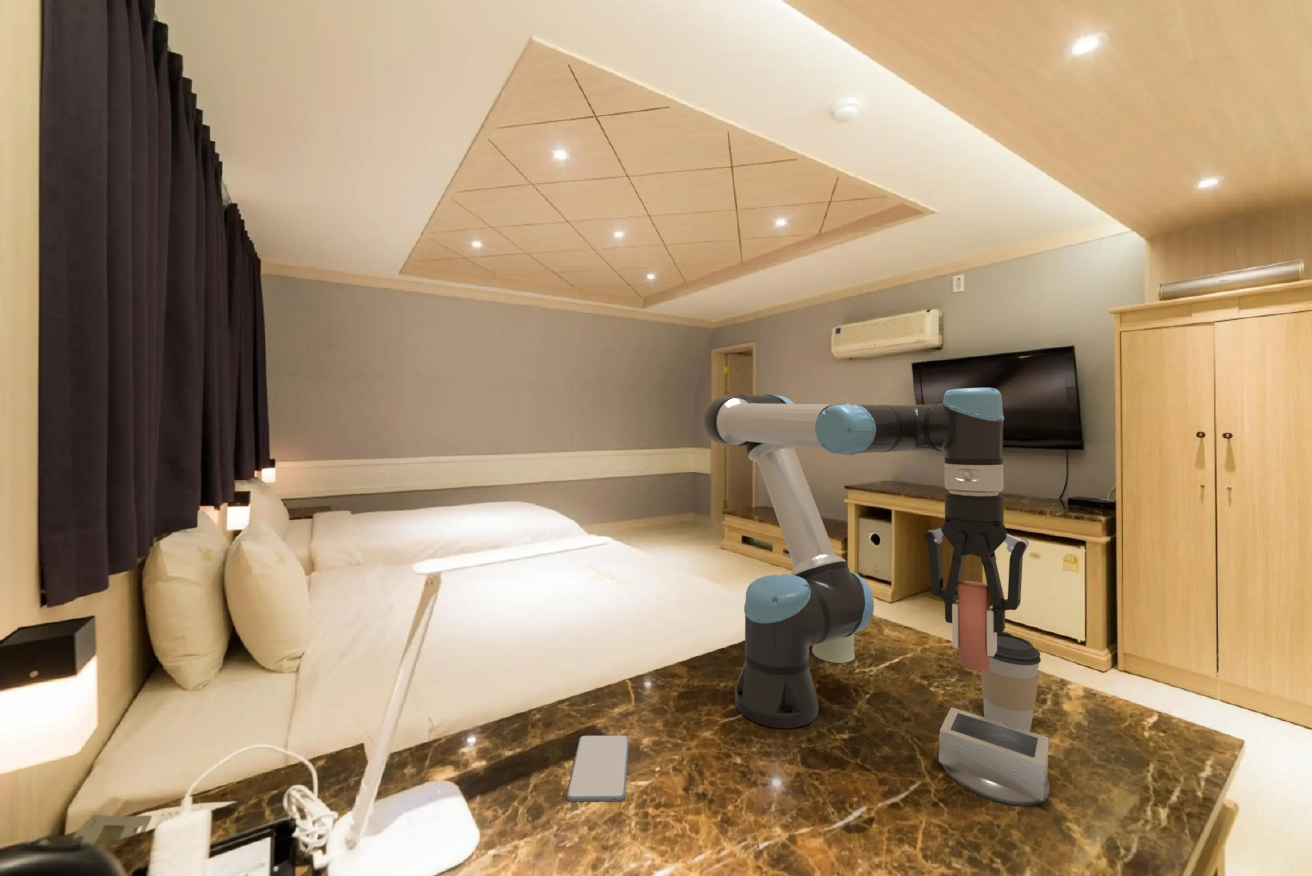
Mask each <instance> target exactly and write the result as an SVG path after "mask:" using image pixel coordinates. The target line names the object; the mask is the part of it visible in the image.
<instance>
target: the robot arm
mask: <svg viewBox="0 0 1312 876" xmlns="http://www.w3.org/2000/svg"><path fill="white" fill-rule="evenodd" d="M1002 399H1003V397H1002V393H1001V392H1000V391H999V390H998V389H997V388H993V387H967V388H966V387H965V388H954V389H948V390H946V391H945V393H944V395H943V400H942V403H935V404H934V403H933V404H854V403H839V404H831V403H829V404H828V403H823V404H822V403H794V402H793V401H792V400H791V399H789V398H788V397H785V396H782V395H776V394H773V393H768V394H736V393H735V394H734V393H728V394H723V395H720V396H718V397H716V398H715V399H713V400H712V401H711V402H709V404H708V405H706V407H705V409H704V412H703V416H702V427H703V429H704V432H705V433H706V435H707V437H708V438H709V439H710V440H711V441H713V442H714V443H716V444H719V445H721V446H726V447H745V448H744V449H745V450H746V453H747V454H746V455H747V457H748V459H749V460H750V461H752V462H754V463H757V464H758V467H759V469H760V473H761V475H762V480H763V481H764V485H765V487H766V490H767V493H768V496H769V498H770V502H771V504H772V507H773V510H774V512H775V515H776V519H777V522H778V524H779V527H780V530H781V533H782V537H783V539H784V542H785V544H786V547H787V550H788V551H787V552H788V553H789V556H790V558H791V561H792V564H793V568H792V571H791V573H790V574H789V573H788V574H787V573H785V574H783V573H782V574H780V575H778V574H770V575H765V576H762V577H759V578H757V579H755V580H753V581H752V582H751V583H749V585H748V586H747V588H746V592H745V602H744V606H743V611H744V662H743V667H742V668H741V672H740V675H739V676H738V681H737V683H736V686H735V691H734V692H735V693H734V695H735V696H734V698H735V699H734V702H735V707H736V708H737V710H738V712H739V713H740V714H741V715H743V716H744V717H745V718H747V719H748V720H750V721H752V722H754V723H756V724H759V725H762V726H766V727H770V728H775V729H776V728H777V729H794V728H799V727H804V726H807V725H809V724H811V723H813V722H814V721H815V720H816V719H817V716H818V715H819V696H818V693H817V690H816V687H815V684H814V681H813V678H812V674H811V671H810V662H809V661H810V660H809V659H810V647H811V646H813V645H815V644H819V643H823V642H827V641H830V640H834V639H838V638H844V637H848V636H851V635H853V634H854V635H855V634H857V633H860V632H862V631H863V630H865V629H866V628H867V626H869V624H870V623H871V622H872V621H871V620H872V616H873V615H874V611H875V610H874V607H875V601H874V596H873V592H872V589H871V587H870V585H869V584H868V582H867V580H865V578H863V577H861V575H859V574H858V573H856V572H853V571H850V568H849V566H848V563H847V561H846V559H844V558H842V557H841V556H839V555H837V554H836V553H835V551H834V549H833V548H834V547H833V546H832V543H831V541H830V537H829V535H828V532H827V529H826V527H825V525H824V521H823V519H822V517H821V514H820V511H819V509H818V507H817V504H816V501H815V499H814V496H813V494H812V492H811V489H810V486H809V483H808V481H807V478H806V476H805V473H804V470H803V468H802V464H801V463H800V459H799V457H798V455H797V452H796V449H797V447H799V448H809V449H816V450H817V449H818V450H824V451H825V450H826V451H827V452H828V453H830V454H835V455H836V454H837V455H843V456H844V455H845V456H846V455H847V456H849V455H850V456H852V455H853V456H854V455H857V454H868V453H870V454H871V453H889V452H891V453H893V452H895V453H896V452H913V451H915V452H943V454H944V455H943V456H944V457H943V458H944V488H945V489H946V490H948V492H946V493H945V494H944V522H943V523H942V525H941V527H939V528H936V529H929V530H928V531H925V532H924V533H923V538H924V539H925V542H926V545H927V547H928V548H927V549H928V559H929V560H928V561H929V562H928V563H929V578H930V579H929V580H930V593H931V594H932V596H935V597H938V598H941V600H943V602H944V619H945V622H946V623H948V624H952V627H951V629H952V648H955V649H959V604H958V599H957V598H958V582H960V581H962V579H961V578H962V575H963V570H964V565H965V561H966V558H967V556H969V555H970V556H971V555H973V556H976V557H978V558H980V561H981V564H982V567H983V571H984V575H985V579H986V584H987V585H988V589H989V599H990V601H991V605H990V608H989V609H988V610H987V655H988V656H992V657H993V656H994V655H995V653H996V652H997V633H1000V634H1002V633H1003V632H1005V629H1006V612H1007V611H1015V610H1017V609H1018V608H1019V606H1020V605H1021V599H1022V597H1021V596H1022V595H1021V594H1022V579H1023V578H1022V577H1023V560H1024V559H1023V558H1024V555H1025V553H1026V550H1027V548H1028V546H1029V541H1028V540H1027V539H1024V538H1022V539H1021V538H1017V537H1016V536H1013V535H1011V534H1009V532H1008V530H1007V528H1006V527H1005V521H1004V520H1005V519H1004V517H1005V515H1004V509H1005V508H1004V506H1005V505H1004V504H1005V503H1004V497H1003V496H1002V494H999V493H1000V492H1002V491H1003V490H1004V487H1005V485H1004V462H1003V451H1004V450H1003V446H1004V445H1003V444H1004V443H1003V442H1004V441H1003V439H1004V438H1003V437H1004V421H1005V416H1004V411H1003V410H1004V409H1003V400H1002ZM944 537H945V539H947V541H948V542H949V544H951V546H952V548H953V551H952V554H951V563H950V568H949V573H948V577H947V581H946V585H945V583H944V582H945V581H944V566H943V552H942V551H943V550H942V542H943V541H944ZM1003 543H1006V544H1007V547H1006V549H1007V551H1008V552H1010V556H1009V562H1008V563H1009V564H1008V566H1009V567H1008V584H1007V598H1005V595H1004V591H1003V587H1002V583H1001V577H1000V574H999V573H1000V572H999V569H998V565H997V556H996V552H995V551H997V550H998V548H999V547H1000V546H1001V545H1002V544H1003ZM945 586H946V587H945Z"/></svg>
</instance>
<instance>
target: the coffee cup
mask: <svg viewBox="0 0 1312 876" xmlns="http://www.w3.org/2000/svg"><path fill="white" fill-rule="evenodd" d="M1041 661H1042V658H1041V653H1040V651H1039V650H1038V649H1037V648H1036V647H1034V645H1033V643H1032V642H1031V641H1028V640H1027V639H1025V638H1023V637H1019V636H1014V635H1013V634H1011V633H1009V632H1006V631H1003V633H1002V634H1000V633H997V652H996V653H995V655H994V656H993V657H992V656H990V669H989V670H986V671H980V681H981V683H980V684H981V695H982V698H983V715H984V716H983V717H985V718H988V719H991V720H994V721H997V722H1001V723H1004V724H1007V725H1010V726H1013V727H1017V728H1020V729H1023V730H1026V731H1030V732H1031V730H1032V723H1033V722H1032V721H1033V716H1034V715H1033V714H1034V709H1035V706H1036V700H1037V693H1038V683H1039V675H1040V673H1039V667H1040V663H1041Z"/></svg>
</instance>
